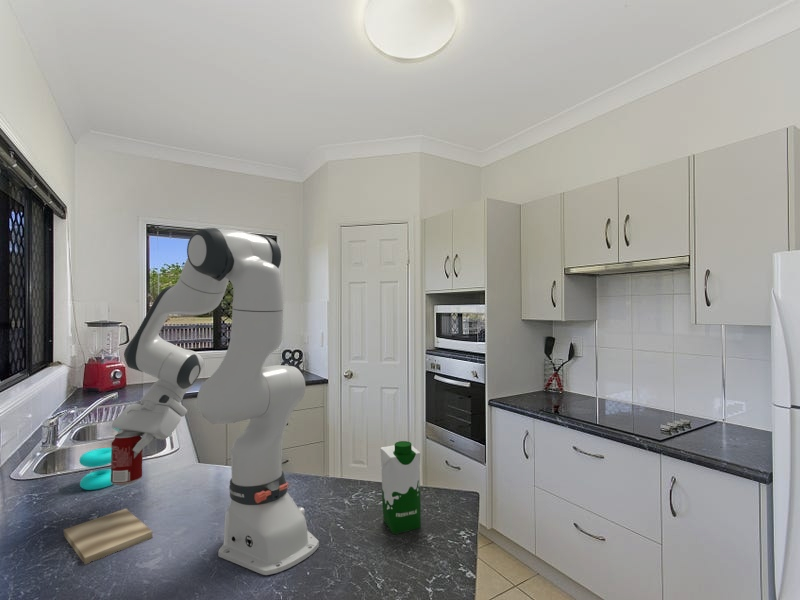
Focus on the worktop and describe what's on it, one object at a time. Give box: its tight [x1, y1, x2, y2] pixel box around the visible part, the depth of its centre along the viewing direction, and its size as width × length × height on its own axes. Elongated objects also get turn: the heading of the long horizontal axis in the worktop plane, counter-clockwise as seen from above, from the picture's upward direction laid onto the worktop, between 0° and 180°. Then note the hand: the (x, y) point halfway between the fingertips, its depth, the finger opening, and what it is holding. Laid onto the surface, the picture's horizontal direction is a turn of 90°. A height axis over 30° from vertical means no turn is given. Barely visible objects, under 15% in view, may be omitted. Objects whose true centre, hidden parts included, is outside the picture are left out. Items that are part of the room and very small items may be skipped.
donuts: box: [79, 447, 114, 491], centre depth 131 cm, size 10×10×10 cm
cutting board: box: [63, 508, 153, 565], centre depth 101 cm, size 18×13×2 cm
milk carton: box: [379, 440, 422, 535], centre depth 103 cm, size 9×9×20 cm
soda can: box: [110, 431, 144, 486], centre depth 109 cm, size 7×7×12 cm
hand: (124, 450), depth 109 cm, fingers closed on soda can, 6 cm apart
